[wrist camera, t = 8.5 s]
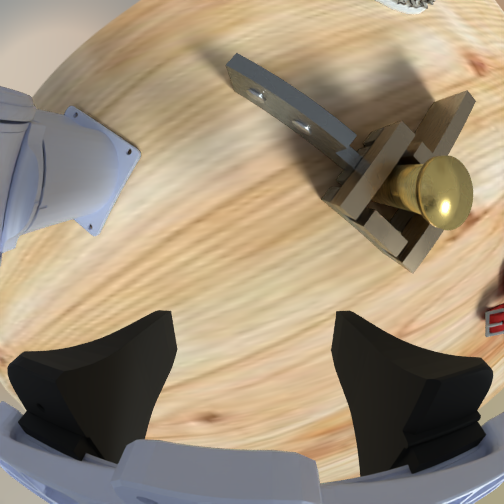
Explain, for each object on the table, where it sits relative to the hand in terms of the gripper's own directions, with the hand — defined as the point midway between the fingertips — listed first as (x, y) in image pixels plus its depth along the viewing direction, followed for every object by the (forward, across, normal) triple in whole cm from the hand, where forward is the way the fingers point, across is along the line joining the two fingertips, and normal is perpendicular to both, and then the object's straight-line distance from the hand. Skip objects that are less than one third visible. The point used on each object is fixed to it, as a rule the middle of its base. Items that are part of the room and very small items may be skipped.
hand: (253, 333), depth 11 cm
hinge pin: (+9, -9, -6) cm, 15 cm away
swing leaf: (+9, -11, -8) cm, 17 cm away
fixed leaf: (+9, -5, -8) cm, 14 cm away
